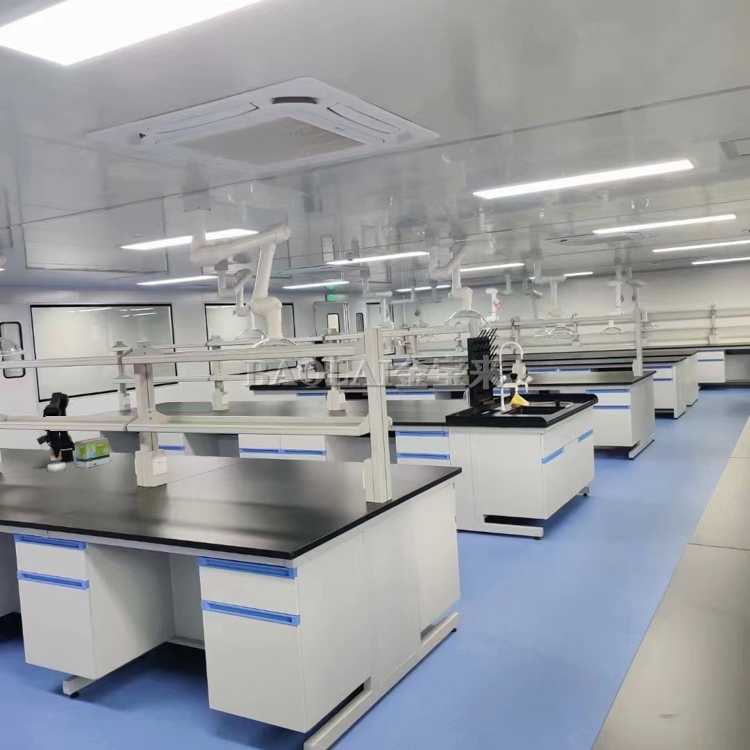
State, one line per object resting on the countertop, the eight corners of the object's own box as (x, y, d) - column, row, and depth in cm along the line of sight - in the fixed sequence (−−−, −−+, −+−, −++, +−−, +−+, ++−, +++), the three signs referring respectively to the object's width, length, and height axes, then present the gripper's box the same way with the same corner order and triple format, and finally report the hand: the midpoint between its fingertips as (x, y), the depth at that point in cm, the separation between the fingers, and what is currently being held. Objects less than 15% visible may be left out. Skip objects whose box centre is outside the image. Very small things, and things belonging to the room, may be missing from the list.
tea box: (87, 468, 368) (85, 442, 367) (76, 467, 374) (74, 441, 373) (110, 463, 381) (108, 437, 380) (99, 462, 386) (97, 436, 385)
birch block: (60, 457, 370) (59, 447, 370) (61, 459, 366) (60, 448, 365) (50, 459, 367) (49, 448, 367) (51, 460, 363) (50, 449, 363)
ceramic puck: (64, 468, 373) (64, 461, 373) (67, 470, 366) (66, 463, 365) (47, 471, 368) (46, 463, 368) (49, 473, 361) (48, 466, 361)
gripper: (34, 429, 369) (37, 457, 370) (39, 433, 353) (41, 462, 354) (57, 426, 375) (59, 454, 376) (62, 430, 359) (64, 458, 360)
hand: (55, 457), depth 367 cm, fingers closed on birch block, 5 cm apart
